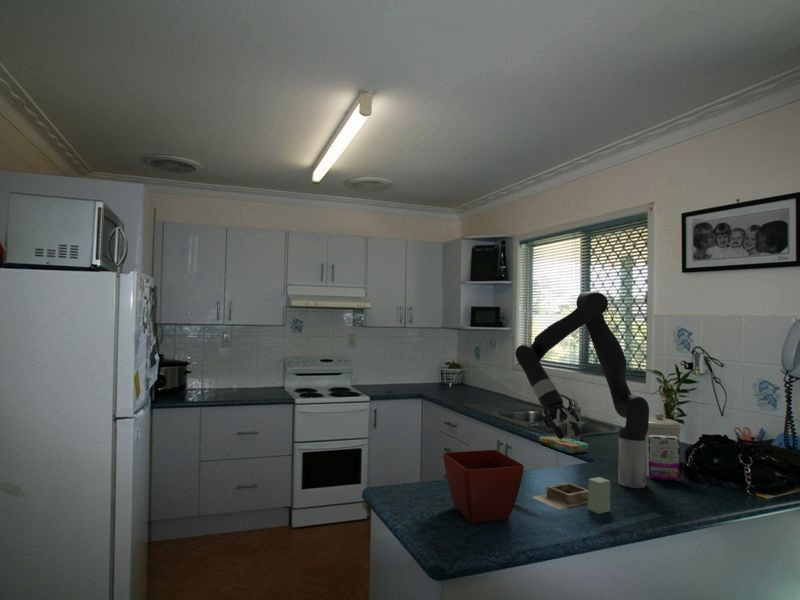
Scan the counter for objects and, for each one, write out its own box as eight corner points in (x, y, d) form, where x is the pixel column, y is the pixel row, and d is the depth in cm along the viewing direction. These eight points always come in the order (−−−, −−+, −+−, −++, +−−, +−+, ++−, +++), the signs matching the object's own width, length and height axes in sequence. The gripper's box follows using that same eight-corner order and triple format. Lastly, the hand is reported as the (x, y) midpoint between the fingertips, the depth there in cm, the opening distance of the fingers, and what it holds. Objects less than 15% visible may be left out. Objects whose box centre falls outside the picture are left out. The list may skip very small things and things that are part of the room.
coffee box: (567, 436, 267) (568, 405, 267) (580, 437, 264) (581, 406, 265) (566, 440, 258) (567, 408, 259) (580, 441, 256) (580, 409, 257)
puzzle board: (577, 492, 177) (577, 479, 178) (605, 503, 167) (606, 489, 167) (531, 501, 166) (531, 487, 167) (559, 514, 156) (559, 499, 156)
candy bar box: (676, 477, 198) (676, 435, 199) (680, 481, 193) (680, 438, 194) (645, 474, 201) (645, 433, 202) (648, 478, 196) (648, 436, 197)
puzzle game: (570, 444, 229) (539, 435, 247) (570, 455, 229) (538, 445, 247) (588, 442, 235) (556, 433, 253) (588, 452, 235) (556, 443, 252)
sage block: (599, 509, 159) (599, 477, 160) (609, 513, 156) (610, 480, 156) (588, 511, 157) (588, 479, 157) (598, 516, 153) (599, 482, 154)
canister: (681, 468, 211) (681, 418, 212) (634, 461, 221) (634, 413, 222) (683, 459, 227) (683, 412, 228) (639, 452, 236) (639, 407, 237)
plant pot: (464, 529, 143) (466, 469, 144) (440, 505, 161) (442, 452, 162) (524, 523, 148) (525, 465, 149) (494, 500, 167) (495, 449, 167)
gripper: (539, 390, 172) (563, 434, 163) (567, 387, 179) (592, 428, 171) (527, 402, 177) (549, 444, 168) (554, 398, 184) (577, 439, 175)
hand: (570, 436), depth 169 cm, fingers open, 8 cm apart
